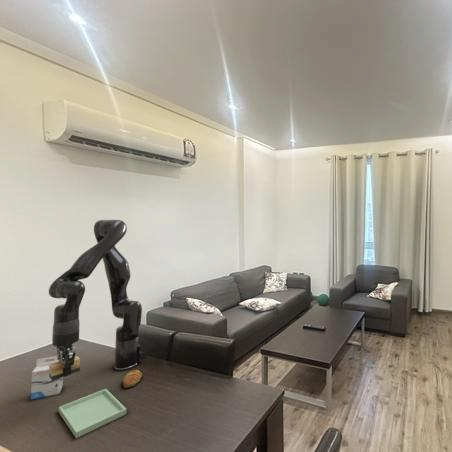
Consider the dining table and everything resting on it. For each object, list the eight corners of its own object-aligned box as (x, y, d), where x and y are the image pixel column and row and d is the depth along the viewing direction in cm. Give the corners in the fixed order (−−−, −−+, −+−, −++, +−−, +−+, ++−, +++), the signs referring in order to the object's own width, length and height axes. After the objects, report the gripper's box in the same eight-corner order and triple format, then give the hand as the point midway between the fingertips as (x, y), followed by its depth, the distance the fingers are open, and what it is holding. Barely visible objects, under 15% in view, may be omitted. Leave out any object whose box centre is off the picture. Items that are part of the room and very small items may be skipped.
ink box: (30, 400, 108) (31, 364, 108) (34, 393, 113) (35, 359, 112) (59, 393, 113) (60, 359, 113) (63, 387, 117) (63, 354, 117)
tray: (105, 393, 115) (105, 388, 115) (126, 413, 103) (126, 408, 103) (58, 412, 103) (58, 407, 103) (75, 438, 91) (76, 432, 91)
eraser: (76, 367, 110) (77, 355, 110) (80, 371, 108) (80, 358, 108) (49, 376, 104) (49, 364, 104) (51, 380, 102) (52, 367, 101)
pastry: (137, 386, 120) (138, 378, 120) (119, 390, 117) (119, 381, 117) (142, 375, 128) (142, 367, 128) (125, 378, 125) (125, 370, 125)
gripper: (85, 332, 105) (83, 375, 105) (73, 323, 113) (72, 364, 113) (58, 338, 99) (57, 384, 99) (47, 329, 106) (46, 372, 107)
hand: (65, 373), depth 106 cm, fingers closed on eraser, 4 cm apart
